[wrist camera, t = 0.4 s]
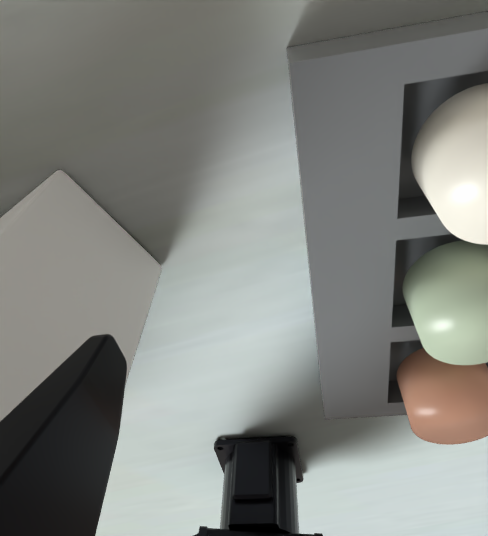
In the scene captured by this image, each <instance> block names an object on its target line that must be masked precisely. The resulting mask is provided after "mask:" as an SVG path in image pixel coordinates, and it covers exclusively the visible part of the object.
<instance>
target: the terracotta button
mask: <svg viewBox="0 0 488 536" xmlns="http://www.w3.org/2000/svg"><path fill="white" fill-rule="evenodd" d="M396 376H397V381H398V385H399V388H400V391H401V395H402V398H403V402H404V405H405V408H406V412H407V415H408V419H409V422H410V425H411V429H412V431H413V432H414V433H415V435H417V436H418V437H419V438H421V439H423V440H425V441H428V442H432V443H437V444H461V443H467V442H472V441H475V440H478V439H481V438H484V437H486V436H488V367H487V365H486V363H482V364H476V365H454V364H449V363H444V362H442V361H439V360H437V359H435V358H433V357H432V356H431V355H429V354H428V353H427V352H426V351H425V349H424V348H421V349H419V350H417V351H415V352H414V353H412V354H410V355H409V356H408V357H406V358H405V359H404V360H403V361H402V363H401V364H400V365H399V367H398V370H397V374H396Z"/></svg>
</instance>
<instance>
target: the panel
mask: <svg viewBox="0 0 488 536" xmlns="http://www.w3.org/2000/svg"><path fill="white" fill-rule="evenodd" d="M287 56H288V65H289V75H290V85H291V95H292V105H293V115H294V125H295V135H296V145H297V154H298V164H299V174H300V184H301V194H302V204H303V214H304V224H305V234H306V243H307V253H308V263H309V273H310V283H311V293H312V303H313V313H314V323H315V332H316V342H317V352H318V362H319V372H320V382H321V391H322V399H323V408H324V416H325V419H341V418H358V417H375V416H392V415H407V412H406V408H405V405H404V402H403V398H402V395H401V391H400V388H399V385H398V381H397V376H396V374H397V370H398V367H399V365H400V364H401V363H402V361H403V360H404V359H405V358H406V357H408V356H409V355H410V354H412V353H414V352H415V351H417V350H419V349H421V348H423V345H422V343H421V340H420V338H419V335H418V333H417V330H416V327H415V325H414V322H413V319H412V317H411V314H410V312H409V309H408V306H407V304H406V301H405V299H404V296H403V288H402V286H403V281H404V278H405V276H406V274H407V272H408V270H409V269H410V267H411V266H412V265H413V264H414V263H415V262H416V261H417V260H418V259H419V258H420V257H421V256H423V255H424V254H425V253H427V252H429V251H430V250H432V249H434V248H436V247H438V246H441V245H444V244H447V243H451V242H456V241H464V240H462V239H460V238H458V237H456V236H455V235H453V234H452V233H451V232H450V231H449V230H447V229H446V227H445V226H444V225H443V223H442V222H441V220H440V219H439V217H438V215H437V214H436V212H435V210H434V209H433V207H432V206H431V204H430V202H429V201H428V199H427V197H426V196H425V194H424V193H423V191H422V189H421V188H420V186H419V184H418V183H417V181H416V179H415V177H414V174H413V171H412V165H411V156H412V149H413V145H414V142H415V139H416V137H417V134H418V132H419V131H420V129H421V127H422V125H423V124H424V123H425V121H426V120H427V118H428V117H429V116H430V115H431V114H432V113H433V112H434V110H436V109H437V108H438V107H439V106H440V105H441V104H442V103H444V102H445V101H446V100H448V99H449V98H450V97H452V96H454V95H455V94H457V93H459V92H461V91H463V90H465V89H467V88H470V87H473V86H476V85H480V84H485V83H488V11H486V12H481V13H475V14H470V15H464V16H459V17H453V18H448V19H442V20H437V21H431V22H426V23H420V24H415V25H409V26H403V27H398V28H392V29H387V30H381V31H376V32H370V33H365V34H359V35H354V36H348V37H343V38H337V39H332V40H326V41H321V42H315V43H309V44H304V45H298V46H293V47H287ZM486 365H487V367H488V362H487V363H486Z"/></svg>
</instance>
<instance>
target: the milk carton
mask: <svg viewBox="0 0 488 536" xmlns="http://www.w3.org/2000/svg"><path fill="white" fill-rule="evenodd" d="M161 271H162V267H161V265H160V264H159V263H158V262H157V261H156V260H155V259H154V258H153V257H152V256H151V255H150V254H149V253H148V252H147V251H146V250H145V249H144V248H143V247H142V246H141V245H140V244H138V243H137V242H136V241H135V240H134V239H133V238H132V237H131V236H130V235H129V234H128V233H127V232H126V231H125V230H124V229H123V228H122V227H121V226H120V225H119V224H118V223H117V222H116V221H115V220H114V219H113V218H112V217H111V216H110V215H109V214H107V213H106V212H105V211H104V210H103V209H102V208H101V207H100V206H99V205H98V204H97V203H96V202H95V201H94V200H93V199H92V198H91V197H90V196H89V195H88V194H87V193H86V192H85V191H84V190H83V189H82V188H81V187H80V186H79V185H77V184H76V183H75V182H74V181H73V180H72V179H71V178H70V177H69V176H68V175H67V174H66V173H65V172H63V171H62V170H57V171H56V172H55V173H53V174H52V175H51V176H50V177H49V178H47V179H46V180H45V181H44V182H43V183H41V184H40V185H39V186H38V187H37V188H35V189H34V190H33V191H32V192H31V193H29V194H28V195H27V196H26V197H25V198H23V199H22V200H21V201H20V202H19V203H18V204H16V205H15V206H14V207H13V208H12V209H10V210H9V211H8V212H7V213H6V214H4V215H3V216H2V217H1V218H0V421H1V420H2V419H3V418H4V417H6V416H7V415H8V414H9V413H10V412H11V411H12V410H13V409H14V408H15V407H16V406H17V405H18V404H19V403H20V402H21V401H23V400H24V399H25V398H26V397H27V396H28V395H29V394H30V393H31V392H32V391H33V390H34V389H35V388H36V387H37V386H38V385H40V384H41V383H42V382H43V381H44V380H45V379H46V378H47V377H48V376H49V375H50V374H51V373H52V372H53V371H54V370H55V369H57V368H58V367H59V366H60V365H61V364H62V363H63V362H64V361H65V360H66V359H67V358H68V357H69V356H70V355H71V354H72V353H74V352H75V351H76V350H77V349H78V348H79V347H80V346H81V345H82V344H83V343H84V342H85V341H86V340H87V339H89V338H90V337H91V336H94V335H102V334H110V335H112V336H113V337H114V338H115V340H116V342H117V344H118V346H119V347H120V349H121V351H122V353H123V355H124V357H125V359H126V362H127V375H126V382H127V378H128V375H129V372H130V369H131V366H132V363H133V360H134V356H135V353H136V350H137V347H138V344H139V341H140V338H141V334H142V331H143V328H144V325H145V322H146V319H147V316H148V312H149V309H150V306H151V303H152V300H153V297H154V294H155V290H156V287H157V284H158V281H159V278H160V275H161ZM125 385H126V383H125Z"/></svg>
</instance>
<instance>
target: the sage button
mask: <svg viewBox="0 0 488 536" xmlns="http://www.w3.org/2000/svg"><path fill="white" fill-rule="evenodd" d="M402 288H403V296H404V299H405V301H406V304H407V306H408V309H409V312H410V314H411V317H412V319H413V322H414V325H415V327H416V330H417V333H418V335H419V338H420V340H421V343H422V345H423V348H424V349H425V351H426V352H427V353H428V354H429V355H431V356H432V357H433V358H435V359H437V360H439V361H442V362H444V363H449V364H454V365H476V364H482V363H487V362H488V245H486V244H476V243H471V242H468V241H465V240H464V241H456V242H451V243H447V244H444V245H441V246H438V247H436V248H434V249H432V250H430V251H429V252H427V253H425V254H424V255H423V256H421V257H420V258H419V259H418V260H417V261H416V262H415V263H414V264H413V265H412V266H411V267H410V269H409V270H408V272H407V274H406V276H405V278H404V281H403V286H402Z"/></svg>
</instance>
